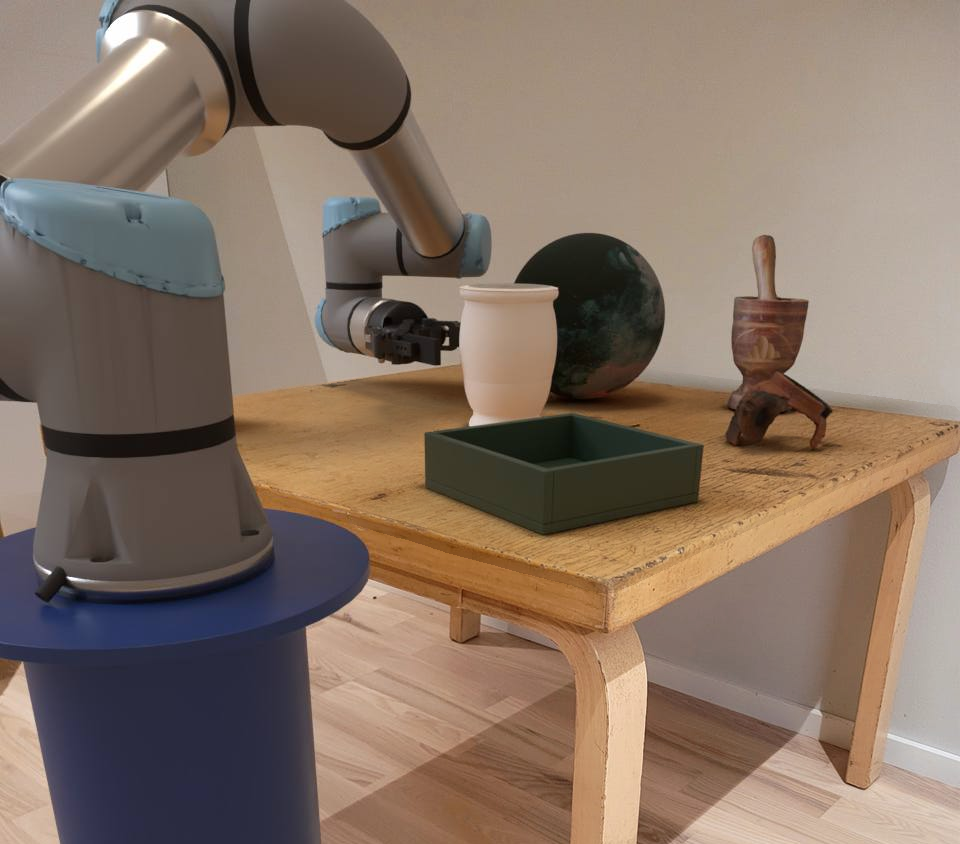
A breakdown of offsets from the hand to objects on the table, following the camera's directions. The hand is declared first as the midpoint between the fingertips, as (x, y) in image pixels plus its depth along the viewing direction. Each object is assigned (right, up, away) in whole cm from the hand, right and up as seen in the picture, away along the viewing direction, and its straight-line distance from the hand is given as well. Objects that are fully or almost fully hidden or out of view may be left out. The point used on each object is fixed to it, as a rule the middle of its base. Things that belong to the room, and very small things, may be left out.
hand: (489, 348), depth 107 cm
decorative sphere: (+12, -1, +19) cm, 23 cm away
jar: (+2, -9, +1) cm, 9 cm away
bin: (+6, -20, -25) cm, 32 cm away
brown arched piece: (+29, -12, -6) cm, 32 cm away
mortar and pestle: (+33, -3, +14) cm, 36 cm away
